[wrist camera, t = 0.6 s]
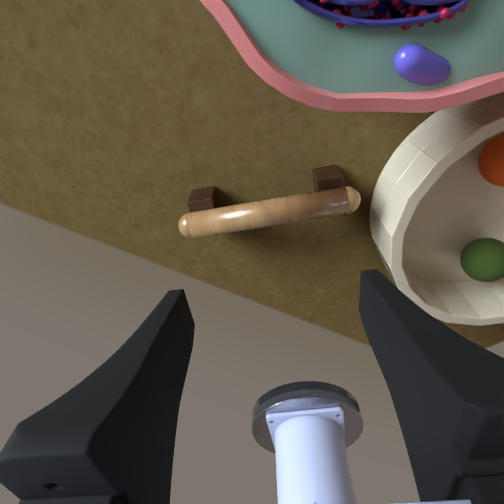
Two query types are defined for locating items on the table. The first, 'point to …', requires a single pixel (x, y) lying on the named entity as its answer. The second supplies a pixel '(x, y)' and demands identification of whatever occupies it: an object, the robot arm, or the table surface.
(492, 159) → the orange ball
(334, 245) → the table surface
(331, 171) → the stick rest
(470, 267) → the green ball
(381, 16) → the cell model
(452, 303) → the cream shallow round container
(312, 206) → the stick
